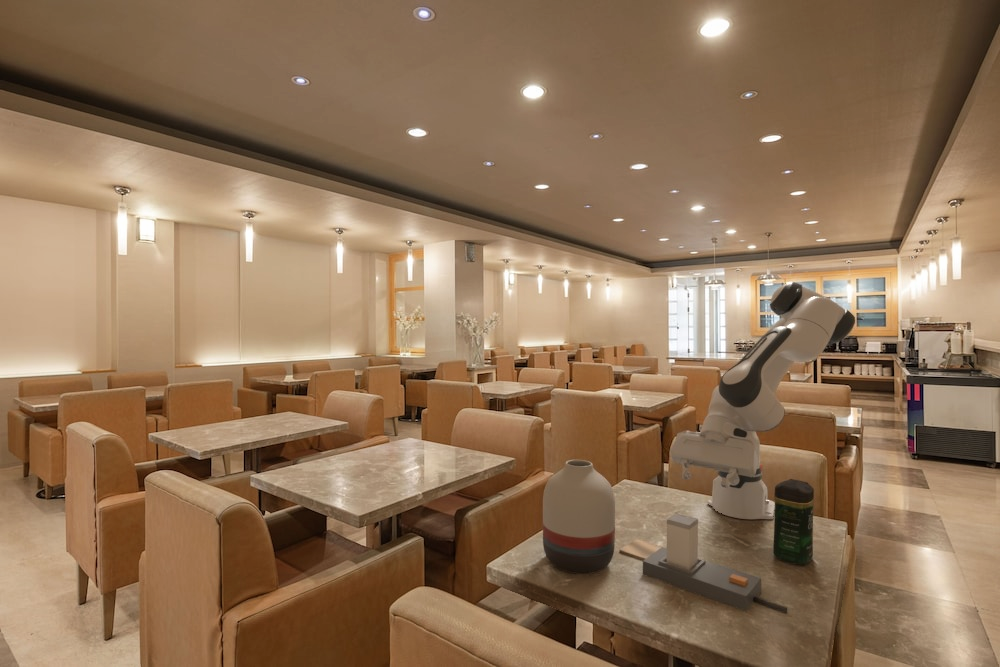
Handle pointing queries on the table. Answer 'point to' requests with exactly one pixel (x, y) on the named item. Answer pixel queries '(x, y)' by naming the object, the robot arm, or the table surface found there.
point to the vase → (579, 519)
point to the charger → (682, 541)
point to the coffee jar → (793, 522)
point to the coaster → (640, 549)
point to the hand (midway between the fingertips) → (704, 482)
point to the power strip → (709, 581)
